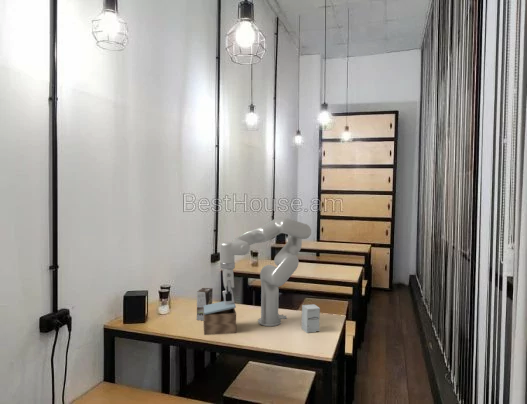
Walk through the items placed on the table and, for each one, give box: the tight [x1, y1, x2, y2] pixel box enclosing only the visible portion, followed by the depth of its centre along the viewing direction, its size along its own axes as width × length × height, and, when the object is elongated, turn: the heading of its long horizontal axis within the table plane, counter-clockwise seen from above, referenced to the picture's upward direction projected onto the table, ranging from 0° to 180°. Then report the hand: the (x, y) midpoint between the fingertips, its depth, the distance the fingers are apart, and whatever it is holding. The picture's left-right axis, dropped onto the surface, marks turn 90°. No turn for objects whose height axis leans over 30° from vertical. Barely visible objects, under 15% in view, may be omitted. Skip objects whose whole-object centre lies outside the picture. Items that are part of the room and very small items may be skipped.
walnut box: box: [203, 308, 237, 336], centre depth 191 cm, size 16×12×10 cm
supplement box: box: [301, 303, 321, 334], centre depth 192 cm, size 7×7×13 cm
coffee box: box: [196, 287, 213, 322], centre depth 208 cm, size 9×6×16 cm
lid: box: [204, 288, 237, 315], centre depth 191 cm, size 16×12×8 cm
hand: (228, 300), depth 192 cm, fingers closed
